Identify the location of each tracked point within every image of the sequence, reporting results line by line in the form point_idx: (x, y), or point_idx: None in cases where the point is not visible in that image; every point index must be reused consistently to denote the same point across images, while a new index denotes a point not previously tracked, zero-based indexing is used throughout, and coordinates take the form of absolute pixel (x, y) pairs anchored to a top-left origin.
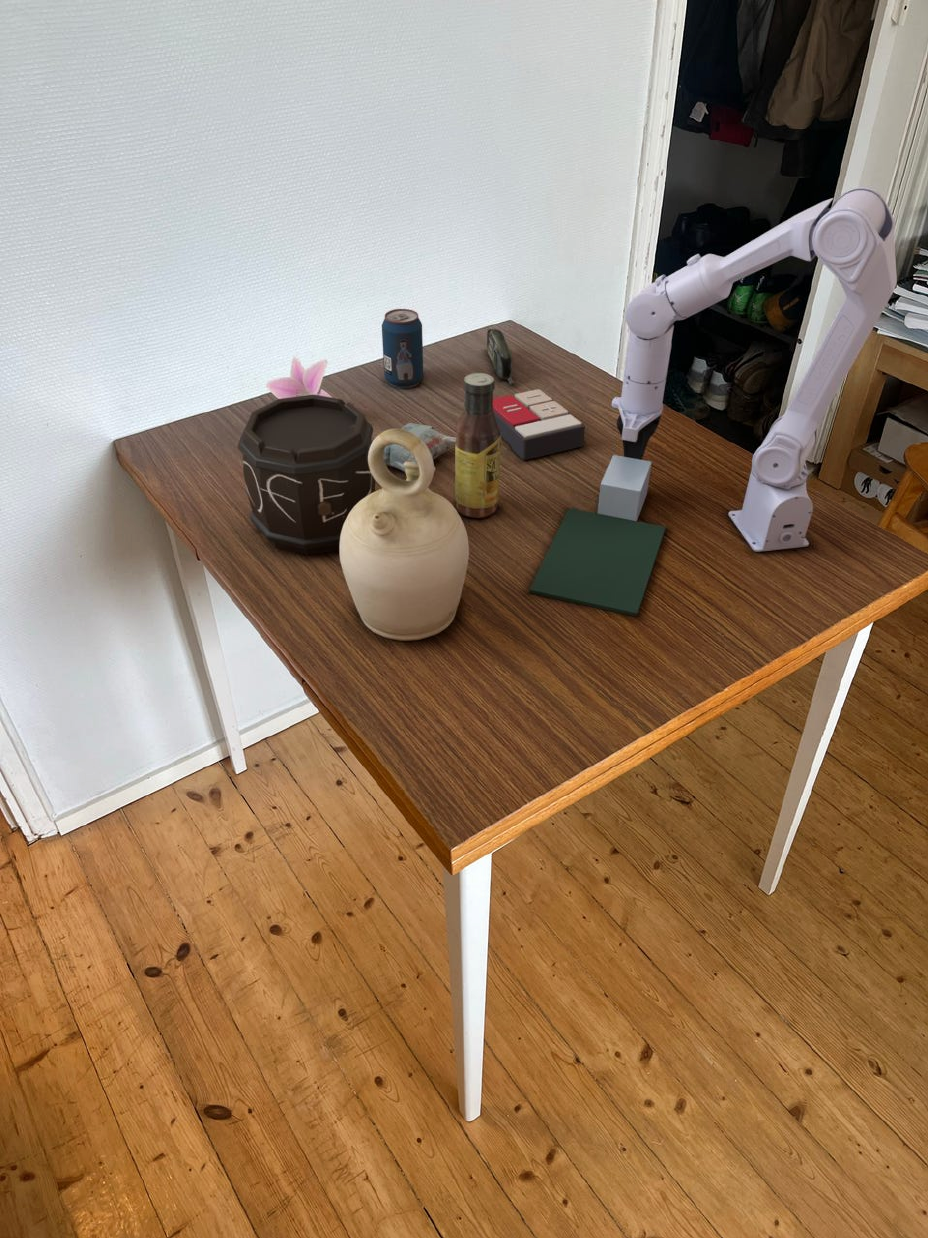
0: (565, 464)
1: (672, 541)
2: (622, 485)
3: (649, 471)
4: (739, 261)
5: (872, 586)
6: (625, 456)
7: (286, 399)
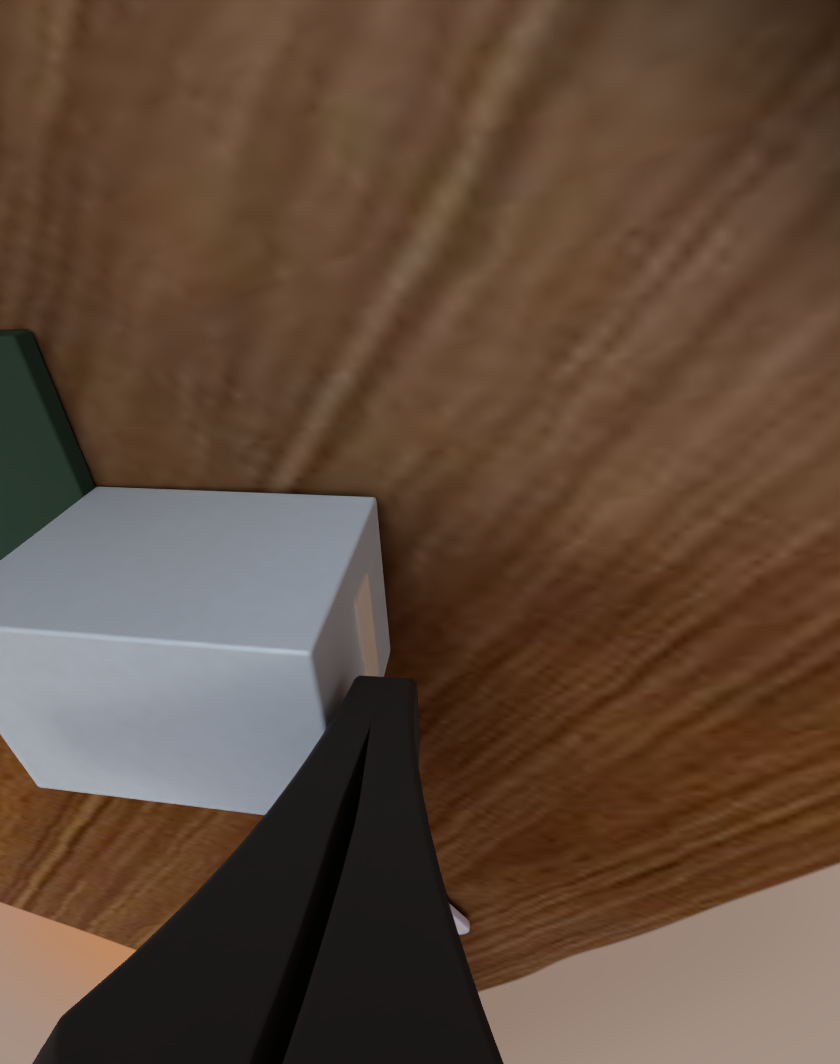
0: (592, 98)
1: None
2: (11, 721)
3: None
4: None
5: None
6: (336, 714)
7: None
